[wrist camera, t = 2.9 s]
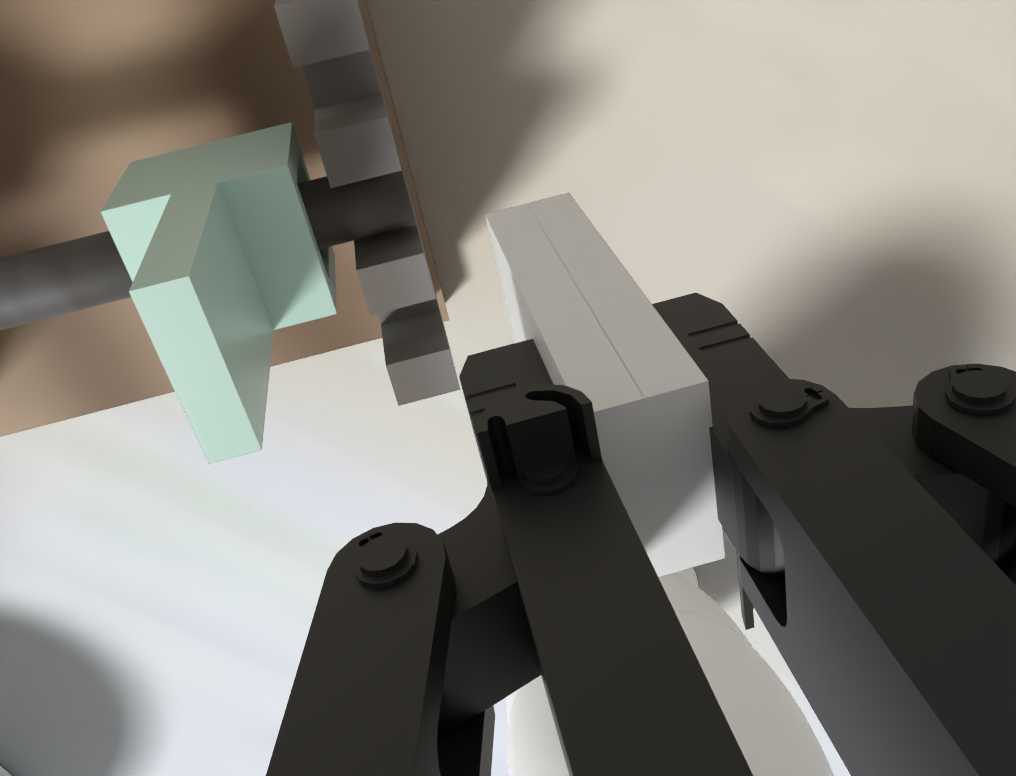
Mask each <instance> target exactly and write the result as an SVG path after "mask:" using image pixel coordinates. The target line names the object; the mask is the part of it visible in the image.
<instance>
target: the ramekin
mask: <svg viewBox="0 0 1016 776" xmlns="http://www.w3.org/2000/svg"><path fill="white" fill-rule="evenodd" d="M0 776H12V775H11V774H10V773H9V772H7V771H6V770H5V769H4V768H3V767H1V766H0Z"/></svg>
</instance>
